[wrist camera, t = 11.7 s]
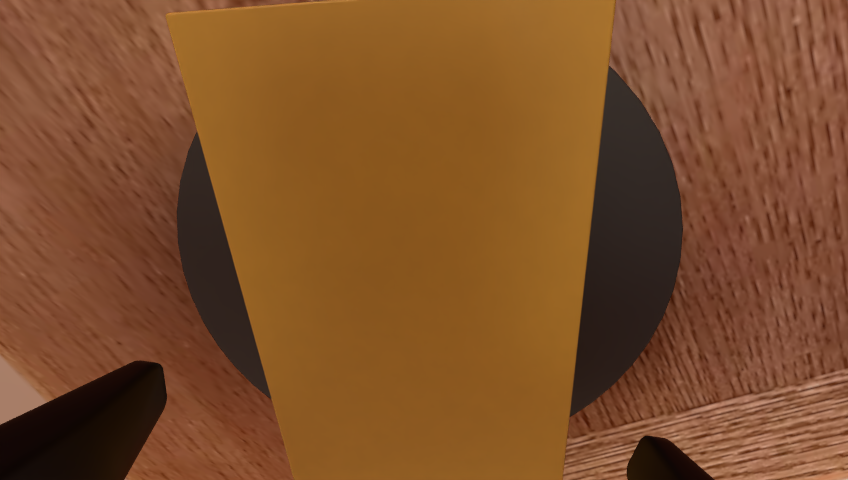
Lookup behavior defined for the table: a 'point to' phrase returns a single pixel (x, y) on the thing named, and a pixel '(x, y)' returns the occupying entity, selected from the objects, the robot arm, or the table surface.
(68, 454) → the robot arm
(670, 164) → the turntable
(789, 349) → the table surface
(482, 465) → the book
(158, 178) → the table surface
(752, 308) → the table surface
